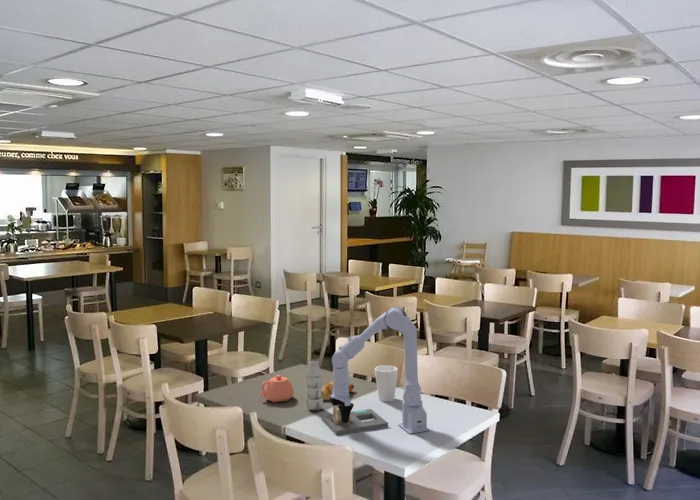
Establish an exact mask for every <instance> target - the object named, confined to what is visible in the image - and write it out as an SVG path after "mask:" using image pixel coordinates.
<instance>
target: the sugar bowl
mask: <svg viewBox="0 0 700 500" xmlns="http://www.w3.org/2000/svg"><path fill="white" fill-rule="evenodd" d="M265 384H266V385H265ZM261 390H262V391H261V392H260V397H261V398H265V399H266V400H267V401H270V402H272V403H273V404H274V403H276V404H277V403H279V402H289V400H290V399H291V398H292V397H293V396H294V393H295V391H294V387H293V385H292V383H291V381H290V380H289V379H288V377H285V376H282V375H281V374H276V375H275V376H274V377H271V378H270V379H269V380H265V381H263V382H262V383H261Z"/></svg>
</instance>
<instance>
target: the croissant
mask: <svg viewBox="0 0 700 500" xmlns="http://www.w3.org/2000/svg"><path fill="white" fill-rule="evenodd" d="M354 387H355V385H354V384H351V383H349V394H350V393H351V392H352V391H353V389H354ZM332 389H333V380H331V381H328V382H327V383H326V384H325V385H322V386H321V391H322V398H323V401H331V400H330V398H329V397H330V395H333V394H332Z"/></svg>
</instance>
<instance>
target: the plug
mask: <svg viewBox="0 0 700 500" xmlns="http://www.w3.org/2000/svg"><path fill="white" fill-rule="evenodd" d="M332 415H333V423H334V424H335V425H336V426H338V425H344V424H350V416H349V421H348V422H347V423H342V420H341V413H340V410H339V407H338V405H335V406H333V405H332Z"/></svg>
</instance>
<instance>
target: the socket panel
mask: <svg viewBox="0 0 700 500" xmlns="http://www.w3.org/2000/svg"><path fill="white" fill-rule="evenodd" d="M369 418H371V419H372V420H365V421H364V420H363V419H369ZM321 420H322V422H323V423H324V424H325V425H326V426H327V427H328V428H329V429H330V431H331V432H333V434H334V435H336V436H339V435H340V436H341V435H346V434H352V433H359V432H364V431H370V430H378V429H382V428H383V429H384V428H388V427H389V423H388V422H387V421H386V420H385V419H384V418H383V417H382V416H380V415H379V414H378V413H377V412H375V411H374V409H372V408H368V409H362V410H361V409H360V410H356V411H351V412H350V424H344V425H338V426H336V425H335V424H334V423H333V414H328V415H322V416H321ZM362 420H363V421H362Z"/></svg>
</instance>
